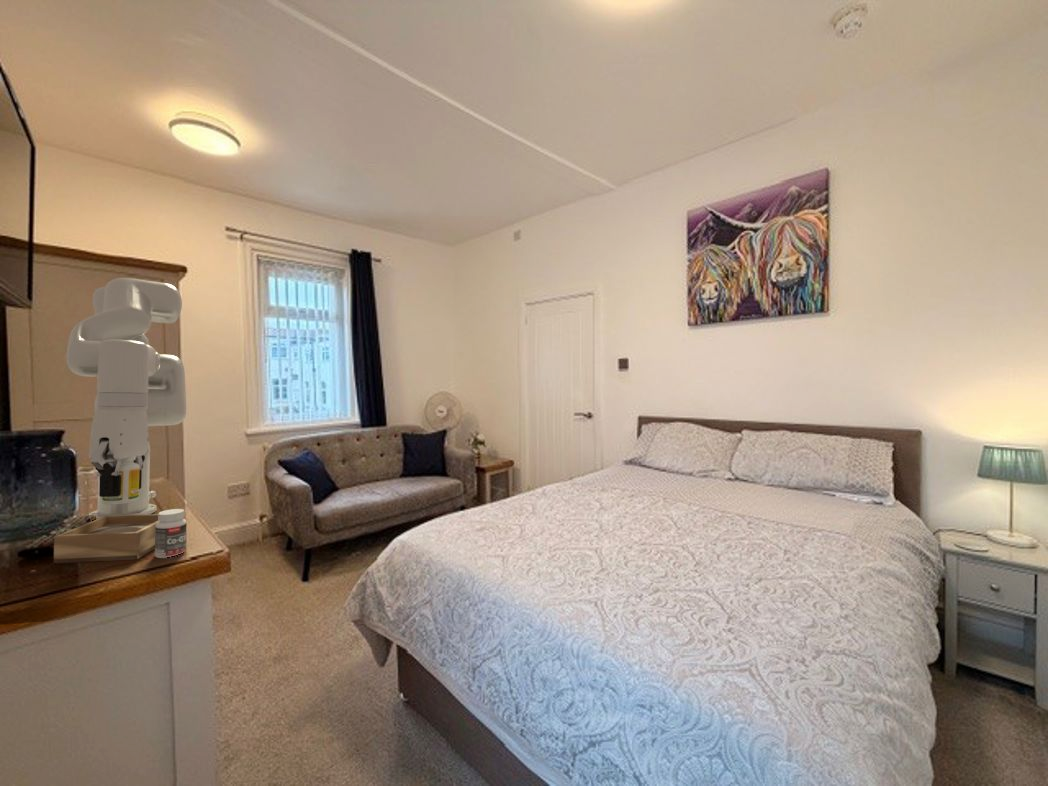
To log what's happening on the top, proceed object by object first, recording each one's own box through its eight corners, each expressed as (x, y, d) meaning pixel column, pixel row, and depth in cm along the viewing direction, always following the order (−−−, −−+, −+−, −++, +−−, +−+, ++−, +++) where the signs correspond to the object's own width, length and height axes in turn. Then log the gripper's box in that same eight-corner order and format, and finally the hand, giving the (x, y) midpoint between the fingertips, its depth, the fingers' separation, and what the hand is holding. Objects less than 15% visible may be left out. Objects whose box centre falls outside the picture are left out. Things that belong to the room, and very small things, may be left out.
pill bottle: (168, 560, 82) (169, 516, 82) (148, 557, 83) (149, 514, 83) (192, 551, 87) (192, 509, 87) (172, 548, 88) (173, 507, 88)
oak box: (104, 539, 92) (105, 515, 92) (175, 536, 95) (176, 513, 95) (53, 563, 79) (54, 536, 79) (137, 559, 82) (137, 533, 82)
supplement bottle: (106, 506, 83) (107, 456, 83) (98, 502, 86) (99, 453, 86) (142, 501, 87) (143, 453, 88) (134, 497, 90) (135, 451, 90)
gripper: (129, 401, 94) (127, 484, 94) (65, 402, 78) (63, 504, 77) (169, 401, 96) (167, 483, 96) (115, 402, 79) (113, 502, 79)
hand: (121, 491), depth 87 cm, fingers closed on supplement bottle, 5 cm apart
